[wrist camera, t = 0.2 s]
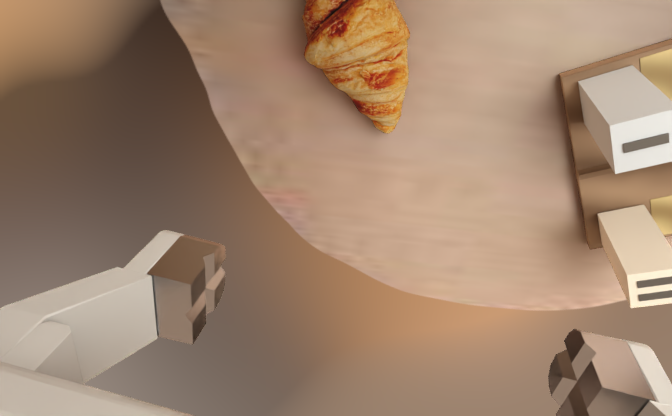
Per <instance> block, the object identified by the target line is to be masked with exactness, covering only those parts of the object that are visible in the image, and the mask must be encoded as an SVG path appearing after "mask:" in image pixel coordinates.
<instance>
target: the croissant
mask: <svg viewBox="0 0 672 416" xmlns="http://www.w3.org/2000/svg"><path fill="white" fill-rule="evenodd" d="M306 3H307V4H306V6H305V10H304V15H303V16H302V19H303V22H304V25H305V29H306V34H307V39H308V43H307V45H306V48H305V52H304V56H305V58H306V60H307V62H308V63H310V64H311V65H314V66H315V67H317V68H322V70H323V72H324V74H325V76H327V77H328V79H329V81H330V83H331V84H333V85H334V86H335V87H336V88H337V89H339V90H342V91H344V92H346V93H347V95H349V96H350V98H351V99H352V101H353V102H354V104H355V106H356V107H357V109H358V110H359V111H360V112H361V113H362V114H364V115H366V116H368V117H369V118H370V119H371V120H372V122H373V124H374V125H375V128H377V129H379V130H380V131H382V132H383V133H387V134H388V133H390V132H392V131H393V130H394V128H395V126H396V124H397V122H398V120H399V118H400V116H401V109H402V102H403V99H404V96H405V90H406V88H407V85H408V75H409V68H408V65H407V46H408V44H407V40H408V39H409V37H410V32H409V30H408V28H407V26H406V23H405V21H404V19H403V17H402V15H401V13H400V12H399V10H398V8H397V7H396V4H395V1H394V0H306Z"/></svg>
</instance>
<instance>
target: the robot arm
mask: <svg viewBox="0 0 672 416" xmlns="http://www.w3.org/2000/svg"><path fill="white" fill-rule="evenodd" d="M225 249H226V248H225V247H224V245H223V244H219V243H215V242H211V241H208V240H203V239H200V238H196V237H193V236H189V235H183V234H180V233H176V232H172V231H168V230H164V231H161V232H159V233H158V234H157V235H156V236H155V237H154V238H153V239H152V240H151V241H150V242H149V243H148V244H147V245H146V246H145V247H144V248H143V249H142V250H141V251H140V252H139V253H138V254H137V255H136V256H135V257H134V258H133V259H132V260H131V261H130V262H129V263H128V264H127V265H126V266H125V267H124V268H123V269H122V268H119V267H116V268H113V269H110V270H107V271H104V272H102V273H99V274H96V275H93V276H90V277H87V278H84V279H81V280H78V281H75V282H73V283H70V284H67V285H64V286H61V287H58V288H55V289H52V290H49V291H46V292H44V293H41V294H38V295H35V296H32V297H29V298H26V299H23V300H20V301H17V302H15V303H12V304H9V305H6V306H3V307H2V308H1V309H0V416H194V415H190V414H187V413H183V412H180V411H176V410H173V409H169V408H165V407H162V406H158V405H155V404H151V403H148V402H144V401H140V400H137V399H133V398H130V397H126V396H123V395H119V394H115V393H112V392H108V391H105V390H101V389H97V388H94V387H90V386H87V385H84V383H85V382H87V381H88V380H90V379H92V378H94V377H95V376H97V375H98V374H100V373H102V372H103V371H105V370H107V369H108V368H110V367H112V366H113V365H115V364H116V363H118V362H120V361H121V360H123V359H125V358H126V357H128V356H130V355H131V354H133V353H135V352H136V351H138V350H139V349H141V348H143V347H144V346H146V345H148V344H149V343H151V342H152V341H154V340H156V339H157V336H158V337H163V338H166V339H171V340H175V341H179V342H184V343H188V344H192V345H193V344H194V342H195V341H196V339H197V337H198V336H199V334H200V333H201V331H202V329H203V328H204V326H205V325H206V314H208V313H210V312H212V311H214V310H215V308H216V307H217V305H218V303H219V302H220V299H221V296H222V293H223V291H224V286H225V272H224V270H223V269H222V267H221V265H222V263H223V262H224V261H225V259H226V250H225ZM564 342H565V345H566V348H567V350H564V351H562V352H560V353H558V354H556V355H555V357H554V360H553V361H552V363H551V365H550V370H549V376H548V379H549V389H550V393H551V396H552V397H553V399H554V400H555V401H556V402H557V403H558V404H559V405H560V408H559V410H558V412H557V413H556V416H672V384H671V382H670V381H669V379H668V377H667V375H666V373H665V372H664V370H663V368H662V366H661V364H660V363H659V361H658V359H657V357H656V356H655V354H654V352H653V350H652V349H651V348H650V347H648V346H647V345H646V344H641V343H636V342H632V341H627V340H623V339H622V340H620V339H616V338H611V337H607V336H603V335H598V334H594V333H590V332H586V331H581V330H577V329H573V330H572V331H571V332H569V334H568V335H567V337H566V338H565V340H564Z"/></svg>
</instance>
